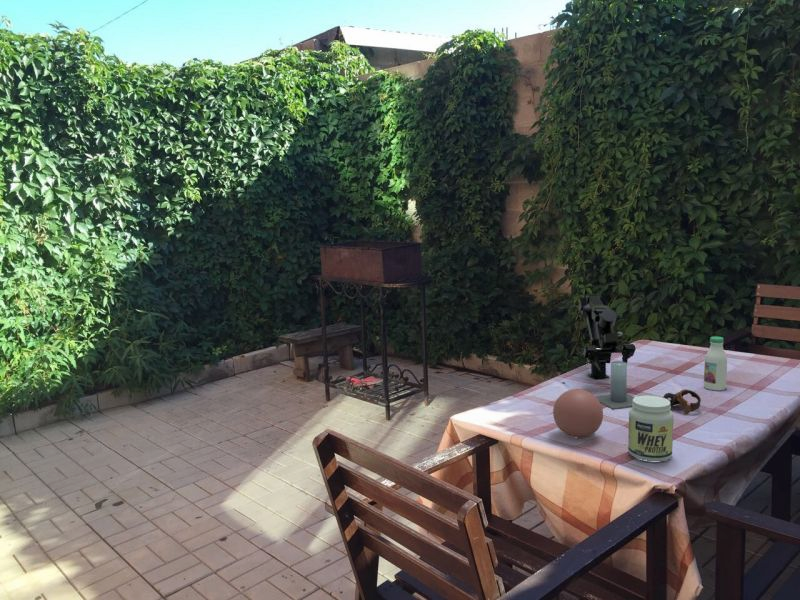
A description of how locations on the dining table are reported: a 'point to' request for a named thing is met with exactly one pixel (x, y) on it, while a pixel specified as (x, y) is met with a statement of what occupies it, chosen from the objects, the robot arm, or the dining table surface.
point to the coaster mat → (615, 405)
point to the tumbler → (618, 381)
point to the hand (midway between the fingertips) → (613, 370)
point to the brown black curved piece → (683, 400)
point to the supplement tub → (650, 428)
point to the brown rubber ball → (578, 413)
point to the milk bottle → (715, 365)
